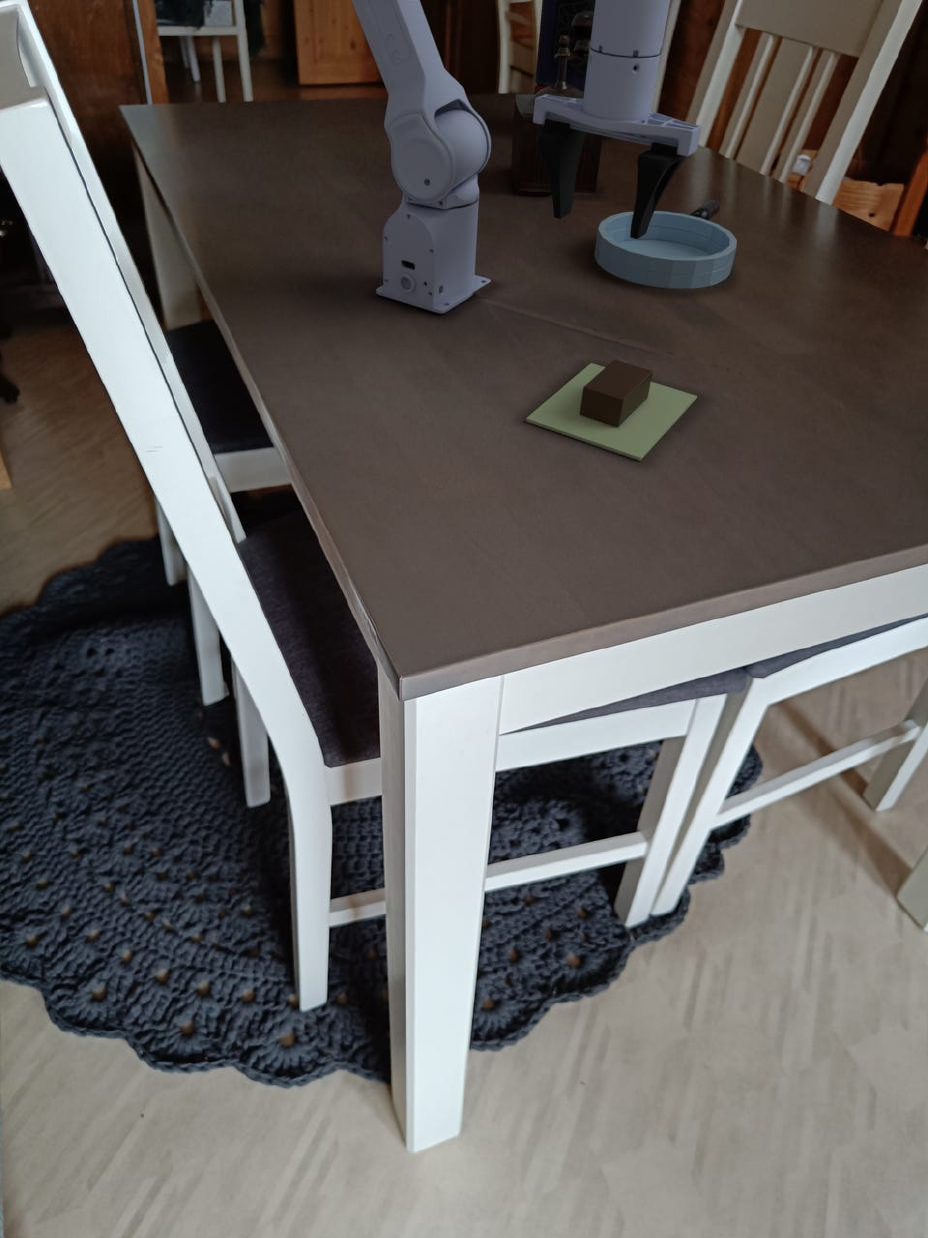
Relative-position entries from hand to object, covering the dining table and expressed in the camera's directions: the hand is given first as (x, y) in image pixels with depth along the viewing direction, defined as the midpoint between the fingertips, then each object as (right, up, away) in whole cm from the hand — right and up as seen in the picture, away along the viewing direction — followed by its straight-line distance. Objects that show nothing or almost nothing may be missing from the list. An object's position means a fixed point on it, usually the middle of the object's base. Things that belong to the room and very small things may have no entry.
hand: (599, 225), depth 81 cm
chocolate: (0, -18, -7) cm, 19 cm away
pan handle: (+15, +10, +23) cm, 29 cm away
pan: (+9, +3, +17) cm, 20 cm away
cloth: (0, -18, -7) cm, 20 cm away
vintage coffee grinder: (-1, +23, +39) cm, 45 cm away
